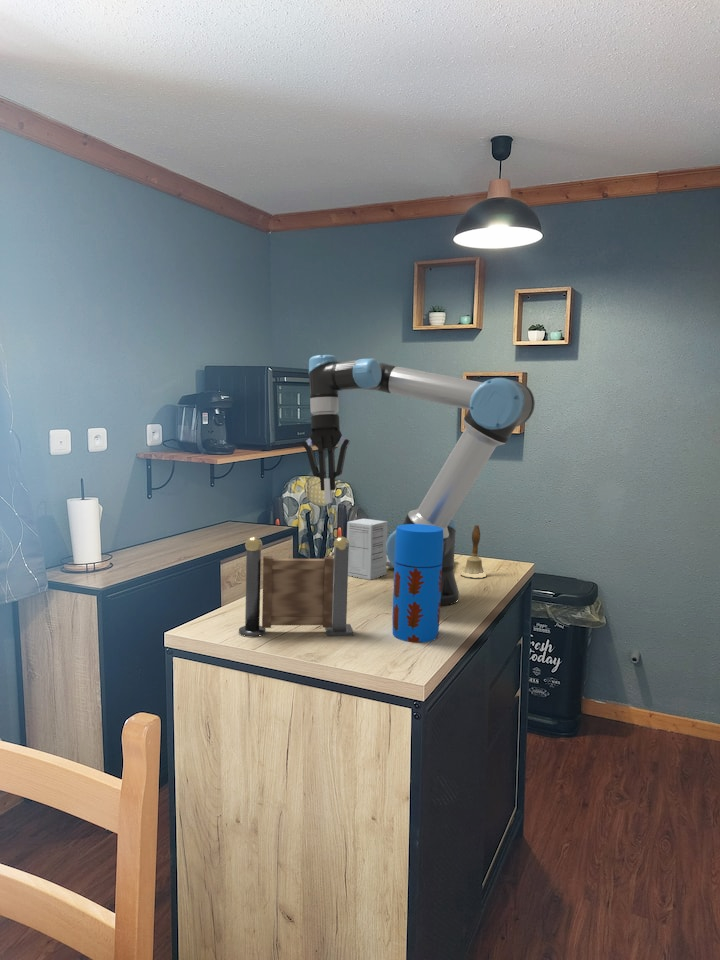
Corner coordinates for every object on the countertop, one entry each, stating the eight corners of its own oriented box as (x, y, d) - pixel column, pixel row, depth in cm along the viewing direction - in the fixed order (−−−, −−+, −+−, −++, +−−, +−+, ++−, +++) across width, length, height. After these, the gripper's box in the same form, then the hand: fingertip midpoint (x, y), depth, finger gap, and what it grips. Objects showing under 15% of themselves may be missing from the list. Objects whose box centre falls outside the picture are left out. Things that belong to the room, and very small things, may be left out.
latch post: (327, 635, 162) (329, 539, 160) (324, 627, 168) (327, 534, 166) (353, 635, 163) (356, 539, 161) (350, 627, 169) (353, 534, 167)
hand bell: (467, 571, 230) (470, 522, 229) (491, 575, 226) (494, 525, 224) (455, 575, 224) (457, 525, 222) (479, 580, 219) (482, 528, 217)
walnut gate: (262, 627, 162) (263, 558, 160) (262, 624, 164) (263, 556, 162) (331, 627, 164) (333, 558, 162) (330, 624, 166) (332, 556, 164)
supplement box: (387, 575, 222) (389, 521, 220) (370, 580, 214) (372, 525, 212) (361, 570, 227) (363, 517, 225) (344, 575, 219) (346, 521, 217)
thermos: (436, 644, 159) (441, 533, 156) (388, 640, 161) (392, 530, 158) (440, 629, 170) (445, 525, 167) (395, 625, 172) (400, 522, 169)
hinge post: (269, 629, 165) (271, 535, 163) (260, 638, 159) (262, 539, 157) (244, 627, 166) (246, 533, 164) (234, 635, 161) (236, 538, 158)
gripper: (351, 413, 193) (355, 501, 194) (304, 416, 195) (308, 502, 196) (346, 412, 186) (350, 502, 186) (297, 414, 188) (301, 504, 189)
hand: (328, 502), depth 191 cm, fingers closed
